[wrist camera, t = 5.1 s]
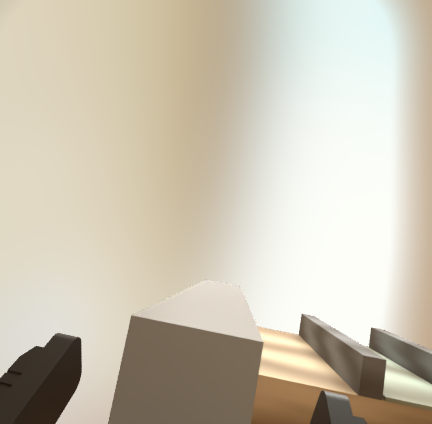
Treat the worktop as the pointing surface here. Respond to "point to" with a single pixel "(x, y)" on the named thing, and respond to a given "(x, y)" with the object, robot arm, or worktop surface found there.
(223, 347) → the light gray bar
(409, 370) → the maple block
